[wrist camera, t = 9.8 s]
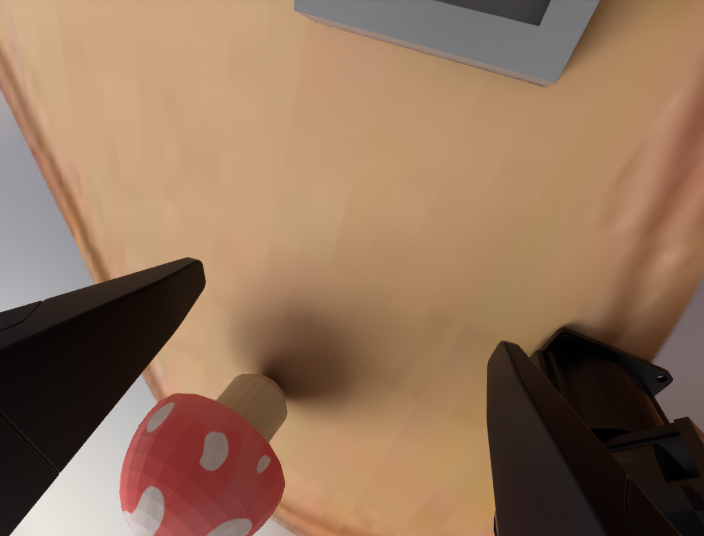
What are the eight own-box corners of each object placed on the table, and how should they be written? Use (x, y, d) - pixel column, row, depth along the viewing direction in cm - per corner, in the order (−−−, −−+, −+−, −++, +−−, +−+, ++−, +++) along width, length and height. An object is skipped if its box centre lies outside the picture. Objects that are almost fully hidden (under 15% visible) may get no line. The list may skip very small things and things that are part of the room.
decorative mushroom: (232, 310, 31) (58, 447, 18) (346, 384, 29) (244, 588, 17) (213, 383, 38) (80, 517, 25) (304, 445, 36) (211, 619, 24)
